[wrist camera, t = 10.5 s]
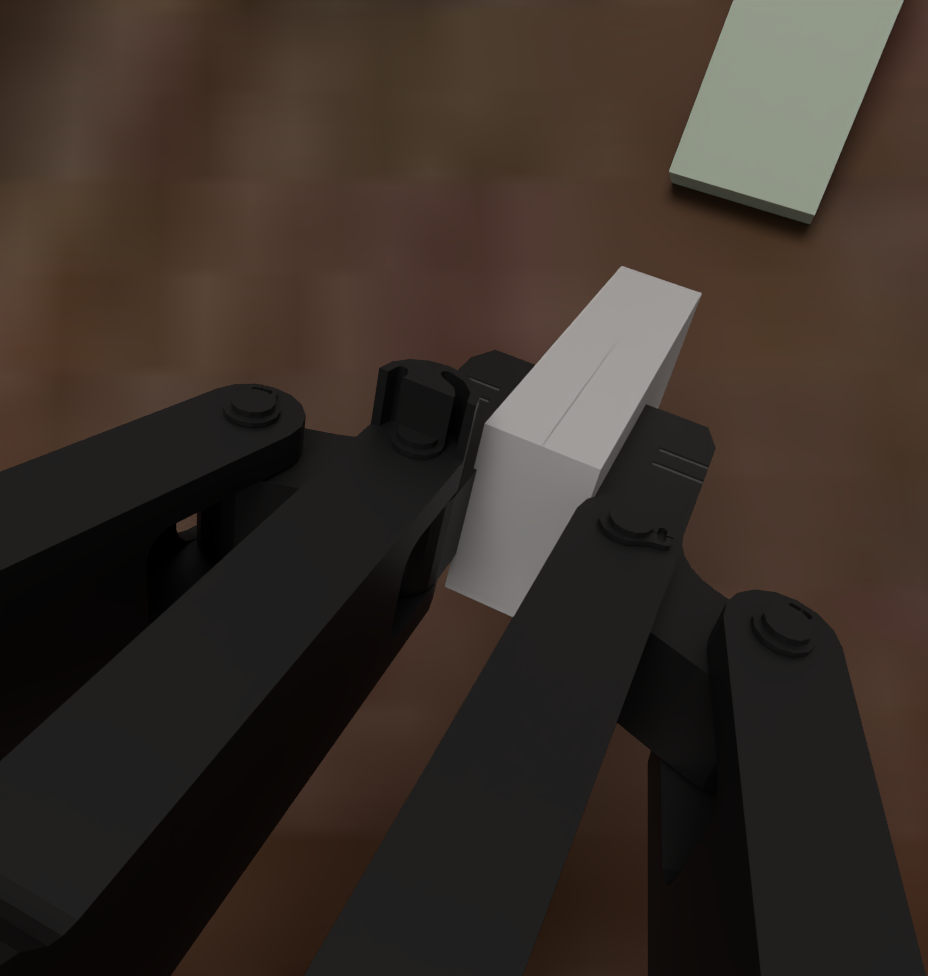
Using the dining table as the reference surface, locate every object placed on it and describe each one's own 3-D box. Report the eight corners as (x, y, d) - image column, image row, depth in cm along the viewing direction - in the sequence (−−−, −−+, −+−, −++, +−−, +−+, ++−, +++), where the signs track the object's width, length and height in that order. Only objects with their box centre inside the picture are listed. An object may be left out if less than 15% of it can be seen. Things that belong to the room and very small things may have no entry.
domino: (814, 215, 28) (948, -109, 27) (668, 171, 30) (786, -141, 28) (810, 224, 30) (936, -81, 28) (671, 182, 31) (783, -113, 29)
